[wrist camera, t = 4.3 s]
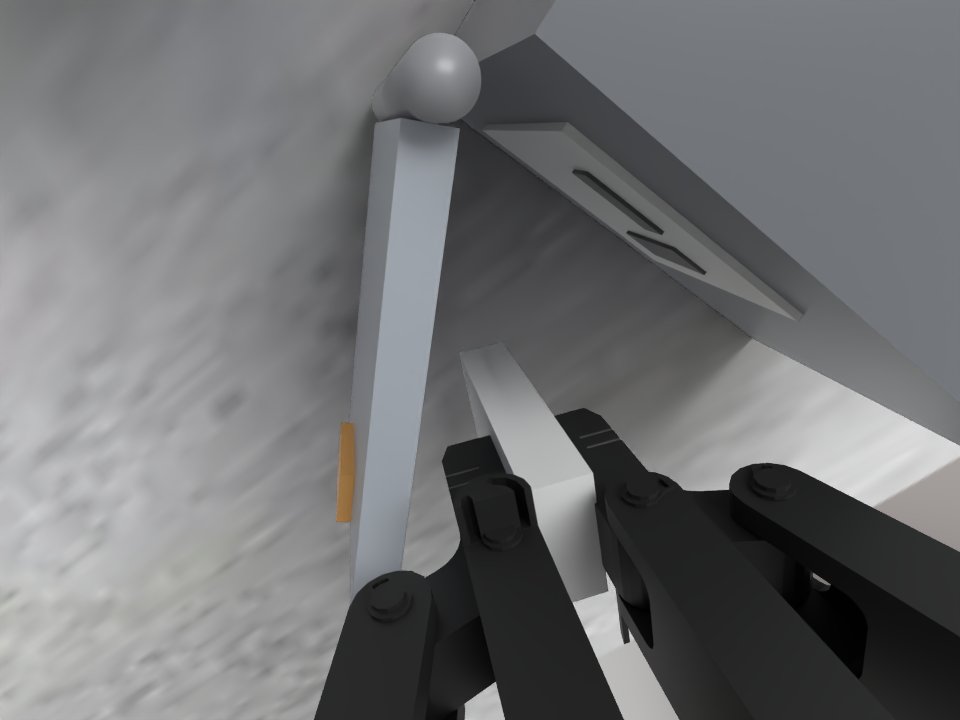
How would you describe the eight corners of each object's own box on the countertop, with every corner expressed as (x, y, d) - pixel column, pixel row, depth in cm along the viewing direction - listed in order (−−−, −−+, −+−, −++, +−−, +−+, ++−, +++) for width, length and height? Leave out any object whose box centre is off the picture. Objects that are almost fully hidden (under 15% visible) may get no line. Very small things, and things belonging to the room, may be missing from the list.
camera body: (387, 76, 15) (468, -23, 5) (625, -338, 13) (1514, -1828, 3) (749, 344, 20) (1118, 542, 11) (954, 85, 18) (1643, 35, 9)
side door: (365, 78, 14) (388, 21, 7) (413, 87, 15) (487, 42, 7) (338, 416, 18) (332, 642, 10) (377, 418, 18) (402, 638, 10)
